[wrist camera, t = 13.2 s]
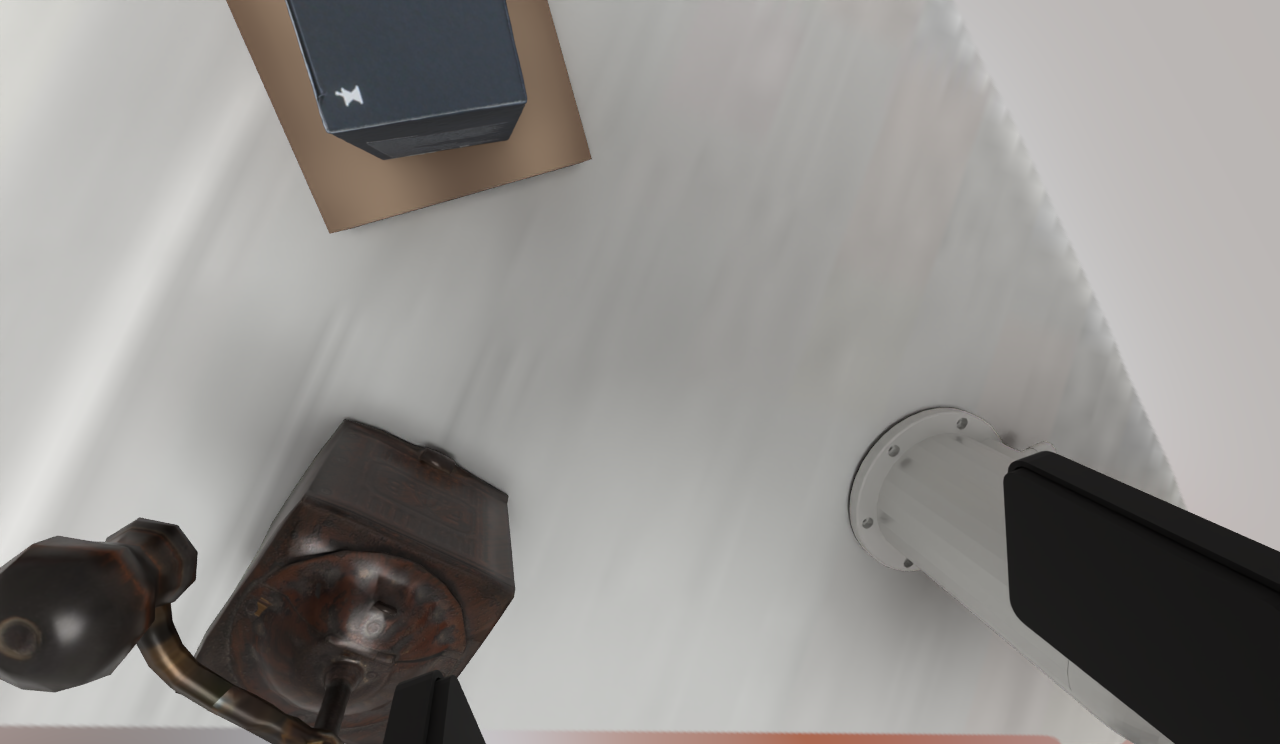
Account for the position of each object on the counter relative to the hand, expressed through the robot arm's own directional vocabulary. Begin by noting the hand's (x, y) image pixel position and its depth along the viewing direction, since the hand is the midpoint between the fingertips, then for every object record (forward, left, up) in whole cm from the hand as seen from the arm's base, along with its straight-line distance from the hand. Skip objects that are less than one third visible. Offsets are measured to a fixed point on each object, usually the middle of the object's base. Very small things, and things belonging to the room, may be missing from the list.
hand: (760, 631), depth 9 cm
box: (+2, -14, -22) cm, 26 cm away
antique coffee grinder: (+14, +6, -26) cm, 30 cm away
